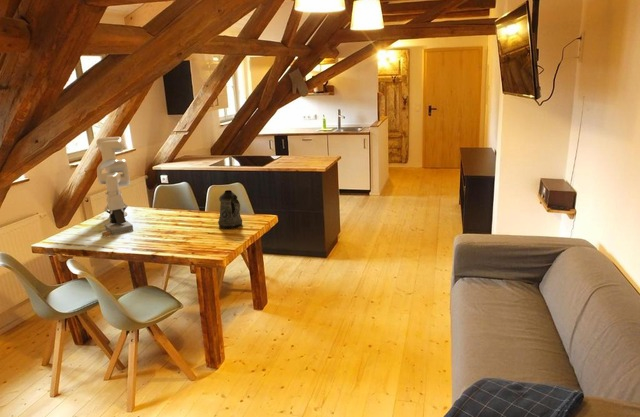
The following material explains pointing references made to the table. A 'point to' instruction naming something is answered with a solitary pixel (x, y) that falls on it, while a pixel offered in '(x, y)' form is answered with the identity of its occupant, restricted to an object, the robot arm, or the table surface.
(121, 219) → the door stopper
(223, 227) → the dark grey upright piece
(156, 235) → the table surface
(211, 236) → the table surface
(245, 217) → the table surface
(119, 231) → the stand
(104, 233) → the walnut offcut
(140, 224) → the table surface
